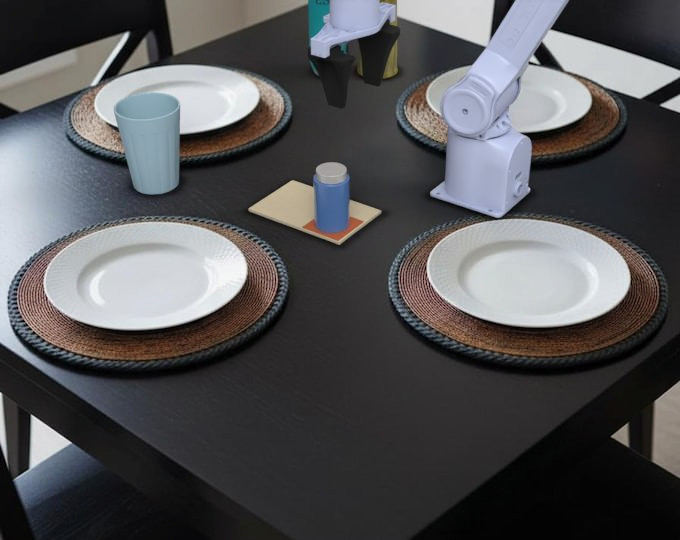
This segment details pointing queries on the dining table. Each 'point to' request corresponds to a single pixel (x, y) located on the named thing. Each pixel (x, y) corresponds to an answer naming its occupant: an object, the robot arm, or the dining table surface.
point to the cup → (150, 140)
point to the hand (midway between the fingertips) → (354, 94)
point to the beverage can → (319, 21)
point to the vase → (392, 60)
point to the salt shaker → (331, 197)
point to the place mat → (308, 211)
